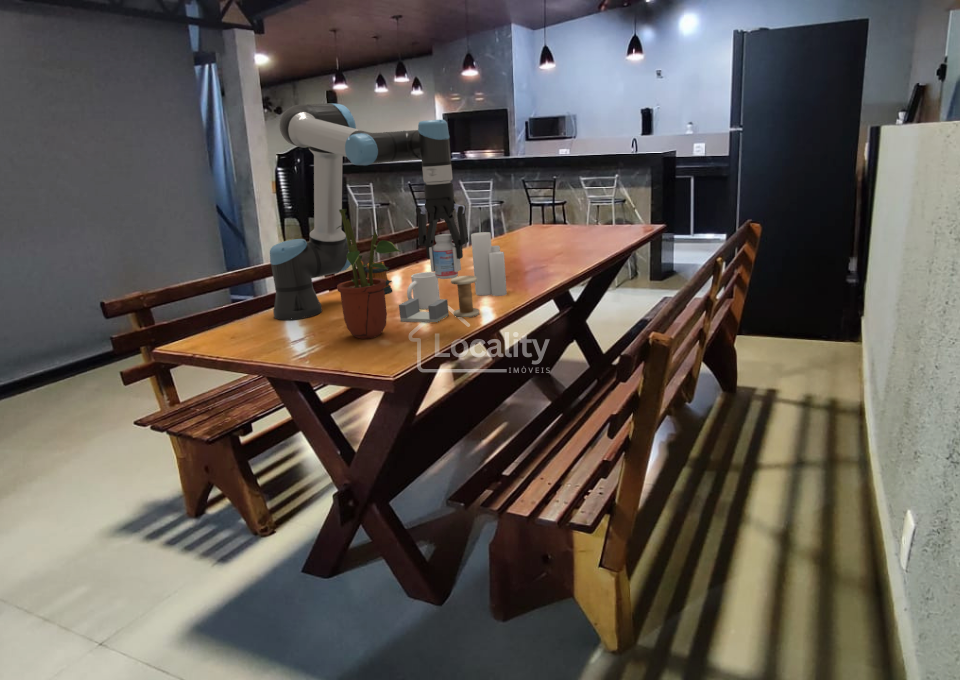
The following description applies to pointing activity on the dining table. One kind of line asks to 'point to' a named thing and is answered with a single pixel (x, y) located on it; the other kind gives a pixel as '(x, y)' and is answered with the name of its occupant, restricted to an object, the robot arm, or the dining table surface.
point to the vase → (488, 266)
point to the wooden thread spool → (465, 296)
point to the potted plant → (364, 289)
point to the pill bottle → (444, 257)
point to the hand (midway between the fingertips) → (446, 270)
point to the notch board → (413, 313)
